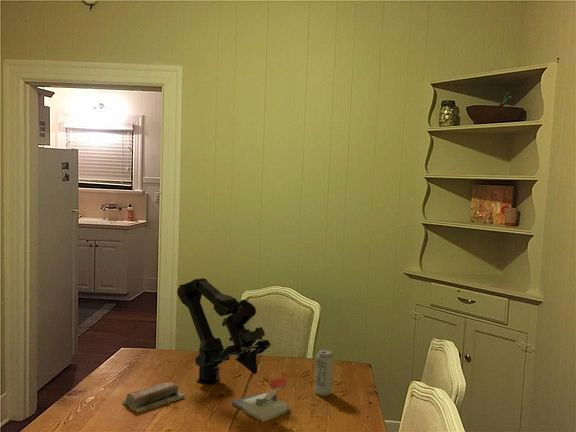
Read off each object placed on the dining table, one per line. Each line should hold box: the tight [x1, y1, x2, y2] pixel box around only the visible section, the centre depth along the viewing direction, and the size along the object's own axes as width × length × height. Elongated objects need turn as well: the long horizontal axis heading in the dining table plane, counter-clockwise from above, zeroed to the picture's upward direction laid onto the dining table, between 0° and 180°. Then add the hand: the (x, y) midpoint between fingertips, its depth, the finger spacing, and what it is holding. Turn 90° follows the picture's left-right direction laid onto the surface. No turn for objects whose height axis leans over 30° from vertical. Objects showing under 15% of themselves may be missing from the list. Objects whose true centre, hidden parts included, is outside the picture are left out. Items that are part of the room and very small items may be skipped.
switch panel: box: [231, 392, 292, 423], centre depth 174 cm, size 16×12×5 cm
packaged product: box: [121, 381, 185, 413], centre depth 176 cm, size 18×5×10 cm
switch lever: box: [261, 376, 287, 403], centre depth 168 cm, size 2×5×10 cm
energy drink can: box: [314, 349, 334, 397], centre depth 188 cm, size 6×6×15 cm
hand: (255, 373), depth 175 cm, fingers closed
